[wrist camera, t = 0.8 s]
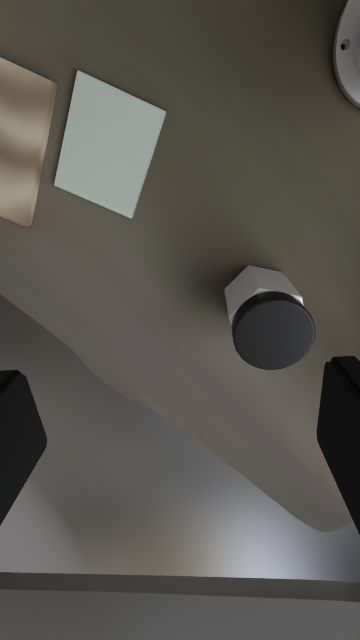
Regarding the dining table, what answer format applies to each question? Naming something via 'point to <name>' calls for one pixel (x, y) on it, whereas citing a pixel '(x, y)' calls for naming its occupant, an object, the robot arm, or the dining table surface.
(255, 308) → the jar
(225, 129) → the dining table surface
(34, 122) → the post base
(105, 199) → the mat
